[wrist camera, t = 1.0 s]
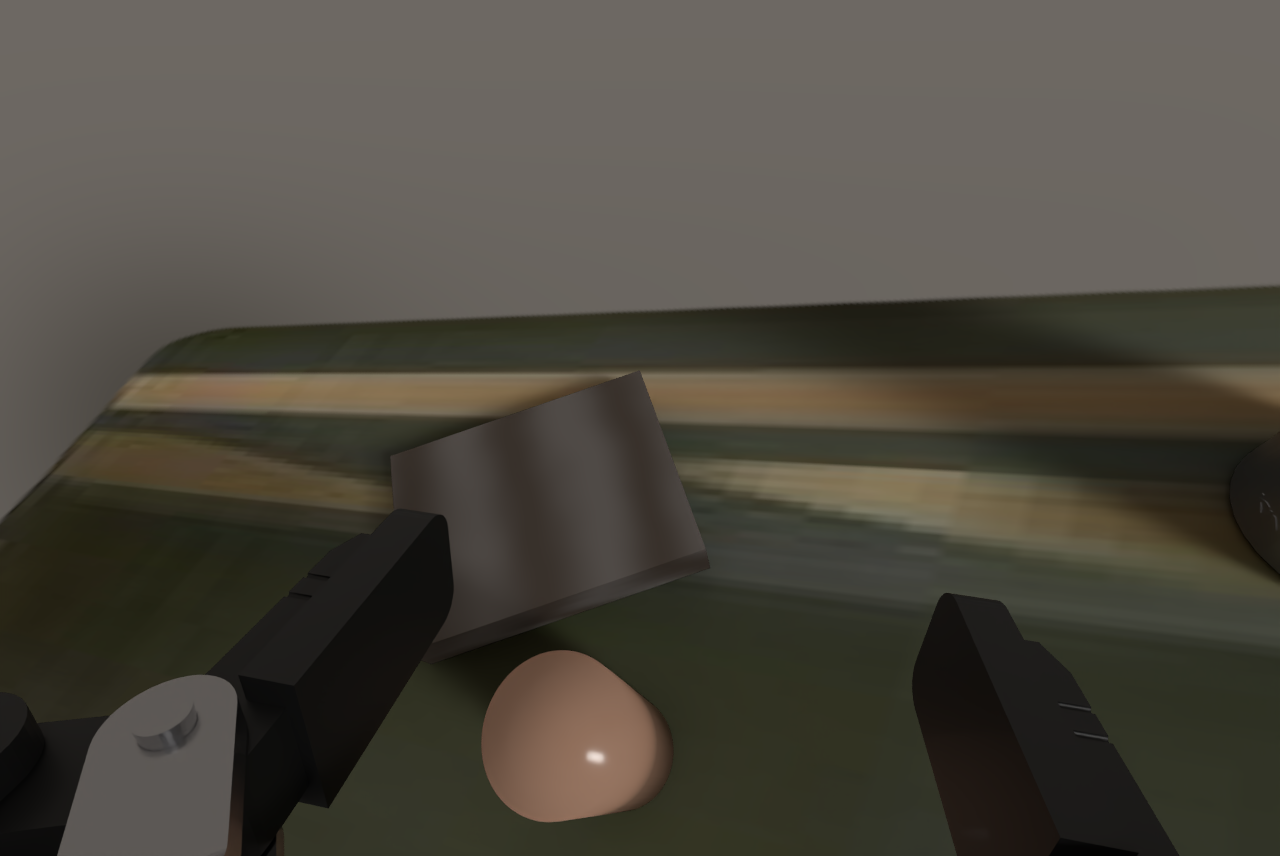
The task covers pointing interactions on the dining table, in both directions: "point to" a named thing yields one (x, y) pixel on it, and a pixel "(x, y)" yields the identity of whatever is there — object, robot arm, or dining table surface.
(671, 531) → the plinth
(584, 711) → the terracotta cylinder
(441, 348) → the dining table surface
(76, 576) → the dining table surface
